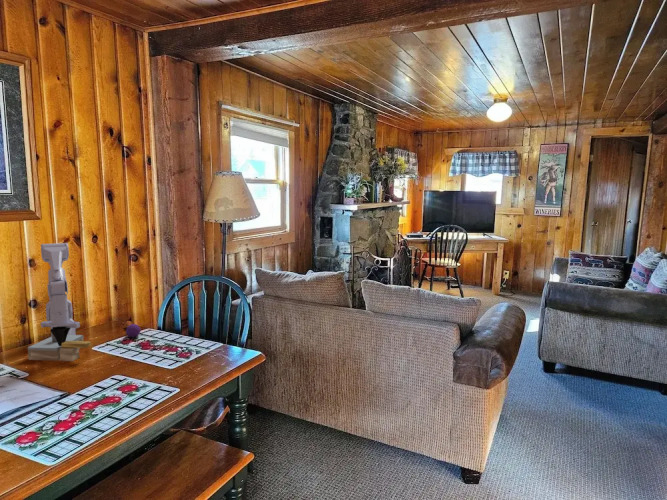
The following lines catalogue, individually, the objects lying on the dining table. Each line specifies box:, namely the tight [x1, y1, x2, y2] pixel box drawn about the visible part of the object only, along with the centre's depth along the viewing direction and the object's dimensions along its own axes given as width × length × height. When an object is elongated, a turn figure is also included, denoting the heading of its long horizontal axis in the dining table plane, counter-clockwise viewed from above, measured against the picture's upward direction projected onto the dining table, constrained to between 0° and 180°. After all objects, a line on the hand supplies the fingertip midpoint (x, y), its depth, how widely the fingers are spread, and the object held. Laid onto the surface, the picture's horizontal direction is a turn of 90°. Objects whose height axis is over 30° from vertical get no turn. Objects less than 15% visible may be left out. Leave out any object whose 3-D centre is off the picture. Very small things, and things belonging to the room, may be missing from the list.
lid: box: [27, 334, 84, 351], centre depth 176 cm, size 16×12×6 cm
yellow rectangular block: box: [62, 340, 92, 349], centre depth 169 cm, size 3×10×2 cm, turn 87°
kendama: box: [124, 320, 141, 338], centre depth 203 cm, size 6×6×20 cm
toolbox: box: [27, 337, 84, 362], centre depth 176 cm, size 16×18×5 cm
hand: (61, 345), depth 169 cm, fingers closed
